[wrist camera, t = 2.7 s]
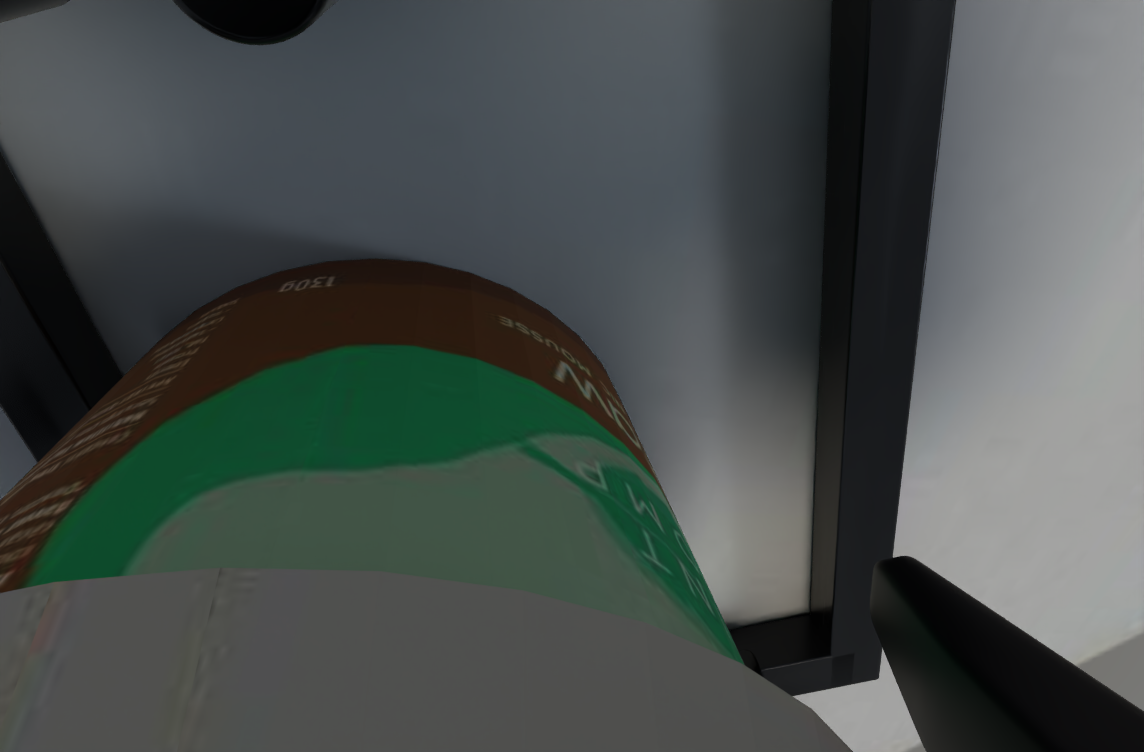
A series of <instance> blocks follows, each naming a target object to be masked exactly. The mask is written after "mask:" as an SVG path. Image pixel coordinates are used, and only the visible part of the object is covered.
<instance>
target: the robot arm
mask: <svg viewBox="0 0 1144 752" xmlns="http://www.w3.org/2000/svg"><path fill="white" fill-rule="evenodd" d="M870 614H871V619H872V622H873V625H874V628H875V631H876V633H877V635H878V638H879V640H880V643H881V645H882V648H883V650H884V652H885V655H886V657H887V660H888V662H889V665H890V667H891V669H892V672H893V674H894V677H895V679H896V682H897V684H898V686H899V689H900V691H901V694H902V696H903V699H904V701H905V703H906V706H907V708H908V711H909V713H910V716H911V718H912V720H913V723H914V725H915V728H916V730H917V732H918V734H919V737H920V739H921V741H922V744H923V746H924V748H925V750H926V751H927V752H1144V711H1142V710H1141V709H1139V708H1138V707H1136V706H1135V705H1133V704H1132V703H1130V702H1129V701H1127V700H1126V699H1124V698H1123V697H1121V696H1120V695H1118V694H1117V693H1115V692H1114V691H1112V690H1111V689H1109V688H1108V687H1107V686H1105V685H1103V684H1102V683H1101V682H1099V681H1097V680H1096V679H1095V678H1093V677H1092V676H1090V675H1088V674H1087V673H1086V672H1084V671H1083V670H1081V669H1080V668H1078V667H1077V666H1075V665H1074V664H1072V663H1071V662H1069V661H1068V660H1066V659H1065V658H1063V657H1062V656H1060V655H1059V654H1057V653H1056V652H1054V651H1053V650H1051V649H1050V648H1048V647H1047V646H1045V645H1044V644H1042V643H1041V642H1039V641H1038V640H1036V639H1035V638H1033V637H1032V636H1030V635H1029V634H1027V633H1026V632H1024V631H1023V630H1021V629H1020V628H1018V627H1017V626H1015V625H1014V624H1012V623H1011V622H1009V621H1008V620H1006V619H1005V618H1003V617H1002V616H1000V615H999V614H997V613H996V612H994V611H993V610H991V609H990V608H988V607H987V606H985V605H984V604H982V603H981V602H979V601H978V600H976V599H975V598H973V597H972V596H970V595H969V594H967V593H966V592H964V591H963V590H961V589H960V588H958V587H957V586H955V585H954V584H952V583H951V582H949V581H948V580H946V579H945V578H943V577H942V576H940V575H939V574H937V573H936V572H934V571H933V570H931V569H930V568H928V567H927V566H925V565H924V564H922V563H921V562H919V561H918V560H916V559H914V558H912V557H909V556H900V557H895V558H890V559H885V560H880V561H878V562H877V563H876V564H875V566H874V569H873V577H872V587H871V598H870Z"/></svg>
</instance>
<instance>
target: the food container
mask: <svg viewBox="0 0 1144 752" xmlns="http://www.w3.org/2000/svg"><path fill="white" fill-rule="evenodd" d="M0 752H853V751H852V750H851V749H850V748H849V747H848V746H847V745H846V744H845V743H844V742H843V741H842V740H841V739H840V738H839V737H838V736H837V735H836V734H835V733H834V732H833V731H832V729H831V728H830V727H829V726H828V725H827V724H826V723H825V722H824V721H823V720H822V719H821V718H820V717H819V716H818V715H817V714H816V713H815V712H814V711H813V710H812V709H811V708H809V707H808V706H806V705H805V704H803V703H802V702H800V701H798V700H797V699H795V698H794V697H792V696H791V695H789V694H788V693H786V692H785V691H783V690H782V689H780V688H779V687H777V686H775V685H774V684H772V683H771V682H769V681H768V680H766V679H765V678H763V677H762V676H760V675H759V674H757V673H756V672H754V671H753V670H751V669H749V668H748V667H746V666H745V665H744V663H743V661H742V658H741V656H740V654H739V652H738V650H737V648H736V646H735V643H734V641H733V639H732V637H731V635H730V633H729V631H728V628H727V626H726V624H725V622H724V620H723V618H722V616H721V614H720V611H719V609H718V607H717V605H716V603H715V601H714V599H713V596H712V594H711V592H710V590H709V588H708V586H707V584H706V581H705V579H704V577H703V575H702V573H701V571H700V569H699V566H698V564H697V562H696V560H695V558H694V556H693V554H692V551H691V549H690V547H689V545H688V543H687V541H686V539H685V536H684V534H683V532H682V530H681V528H680V526H679V524H678V521H677V519H676V517H675V515H674V513H673V511H672V509H671V506H670V504H669V502H668V500H667V498H666V496H665V494H664V492H663V489H662V487H661V485H660V483H659V481H658V479H657V477H656V474H655V472H654V470H653V468H652V466H651V464H650V462H649V459H648V457H647V455H646V453H645V451H644V449H643V447H642V444H641V442H640V440H639V438H638V436H637V434H636V432H635V429H634V427H633V425H632V423H631V421H630V419H629V417H628V414H627V412H626V410H625V408H624V406H623V404H622V402H621V400H620V398H619V396H618V394H617V392H616V390H615V388H614V386H613V384H612V383H611V381H610V379H609V377H608V375H607V373H606V371H605V369H604V367H603V365H602V363H601V362H600V361H599V360H598V358H597V357H596V356H595V355H594V354H593V352H592V351H591V350H590V349H589V348H588V346H587V345H586V344H585V343H584V342H583V341H582V339H581V338H580V337H579V336H578V335H577V334H576V333H575V332H573V331H572V330H571V329H570V328H569V327H567V326H566V325H565V324H564V323H563V322H561V321H560V320H559V319H558V318H557V317H555V316H554V315H553V314H552V313H551V312H550V311H548V310H547V309H545V308H543V307H541V306H540V305H538V304H536V303H535V302H533V301H531V300H530V299H528V298H526V297H524V296H523V295H521V294H519V293H518V292H516V291H514V290H512V289H510V288H508V287H505V286H502V285H500V284H497V283H495V282H492V281H490V280H487V279H485V278H482V277H479V276H477V275H474V274H472V273H469V272H464V271H460V270H456V269H451V268H447V267H442V266H438V265H434V264H429V263H425V262H413V261H401V260H389V259H360V260H344V261H328V262H323V263H318V264H313V265H308V266H303V267H299V268H294V269H289V270H284V271H280V272H277V273H274V274H272V275H269V276H266V277H263V278H261V279H258V280H255V281H253V282H250V283H247V284H245V285H242V286H239V287H237V288H234V289H233V290H231V291H229V292H227V293H225V294H224V295H222V296H220V297H218V298H217V299H215V300H213V301H211V302H210V303H208V304H206V305H204V306H202V307H201V308H199V309H197V310H196V311H194V312H193V313H192V314H191V315H189V316H188V317H187V318H186V319H185V320H183V321H182V322H181V323H180V324H179V325H177V326H176V327H175V328H174V329H173V330H171V331H170V332H169V333H168V334H166V335H165V336H164V337H163V338H162V339H160V340H159V341H158V342H157V343H156V344H155V345H154V346H153V347H152V348H151V349H150V350H149V351H148V352H147V353H146V354H145V355H144V356H143V357H142V358H141V359H140V360H139V361H138V362H137V363H136V364H135V365H134V366H133V367H132V368H131V369H130V370H129V371H128V372H127V373H126V374H125V375H124V377H123V378H122V379H121V380H120V381H119V382H118V383H117V384H116V385H115V386H114V387H113V388H112V389H111V390H110V391H109V392H108V393H107V394H106V395H105V396H104V397H103V398H102V399H101V400H100V401H99V402H98V403H97V404H96V405H95V406H94V407H93V408H92V409H91V410H90V411H89V412H88V413H87V414H86V415H85V416H84V417H83V418H82V419H81V420H80V421H79V422H78V423H77V424H76V425H75V426H74V427H73V428H72V429H71V430H70V431H69V432H68V433H67V434H66V435H65V436H64V437H63V438H62V439H61V440H60V441H59V442H58V443H57V444H56V445H55V446H54V447H53V448H52V449H51V450H50V451H49V452H48V453H47V454H46V455H45V456H44V457H43V458H42V459H41V460H40V461H39V462H38V463H37V464H36V465H35V466H34V467H33V468H32V469H31V470H30V471H29V472H28V473H27V474H26V475H25V476H24V477H23V478H22V479H21V480H20V481H19V482H18V483H17V484H16V485H15V486H14V487H13V488H12V489H11V490H10V491H9V492H8V493H7V494H6V495H5V496H4V497H3V498H2V499H1V500H0Z"/></svg>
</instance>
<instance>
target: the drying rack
mask: <svg viewBox="0 0 1144 752" xmlns="http://www.w3.org/2000/svg"><path fill="white" fill-rule="evenodd" d="M69 1H70V0H0V23H2V22H6V21H9V20H13V19H16V18H20V17H23V16H27V15H30V14H34V13H37V12H41V11H44V10H48V9H51V8H55V7H58V6H61V5H64V4H66V3H67V2H69ZM172 1H173V2H174V3H175V4H176V5H177V6H178V7H179V8H180V9H181V10H182V11H183V12H184V13H185V14H186V15H187V16H188V17H189V18H190V19H191V20H193V21H194V22H196V23H197V24H198V25H200V26H201V27H202V28H204V29H206V30H208V31H209V32H211V33H213V34H215V35H217V36H219V37H222V38H224V39H226V40H230V41H233V42H236V43H241V44H247V45H270V44H276V43H280V42H284V41H286V40H288V39H291V38H293V37H295V36H297V35H298V34H300V33H302V32H303V31H304V30H306V29H307V28H308V27H309V26H310V25H312V24H313V23H314V22H315V21H316V20H317V19H318V18H319V17H321V16H322V15H323V14H324V13H325V12H326V11H327V10H328V9H329V8H331V7H332V6H333V5H334V4H335V3H336V2H337V1H338V0H172ZM955 5H956V0H833V7H832V35H831V62H830V90H829V118H828V145H827V173H826V200H825V228H824V256H823V283H822V311H821V338H820V366H819V393H818V421H817V449H816V476H815V504H814V531H813V559H812V587H811V614H810V615H805V616H800V617H795V618H790V619H785V620H780V621H775V622H769V623H764V624H759V625H754V626H749V627H744V628H739V629H734V630H729V633H730V635H731V637H732V639H733V641H734V643H735V646H736V648H737V650H738V652H739V654H740V656H741V658H742V661H743V663H744V665H745V666H746V667H748V668H749V669H751V670H753V671H754V672H756V673H757V674H759V675H760V676H762V677H763V678H765V679H766V680H768V681H769V682H771V683H772V684H774V685H775V686H777V687H779V688H780V689H782V690H783V691H785V692H786V693H788V694H789V695H791V696H796V695H801V694H806V693H811V692H816V691H821V690H826V689H831V688H836V687H841V686H846V685H851V684H856V683H861V682H866V681H871V680H876V679H878V678H879V672H880V663H881V654H882V645H881V643H880V640H879V638H878V635H877V633H876V631H875V628H874V625H873V622H872V619H871V614H870V598H871V587H872V577H873V569H874V566H875V564H876V563H877V562H878V561H880V560H885V559H890V558H893V549H894V540H895V531H896V523H897V514H898V505H899V496H900V488H901V479H902V470H903V461H904V452H905V444H906V435H907V426H908V417H909V409H910V400H911V391H912V382H913V374H914V365H915V356H916V347H917V338H918V330H919V321H920V312H921V303H922V295H923V286H924V277H925V268H926V260H927V251H928V242H929V233H930V224H931V216H932V207H933V198H934V189H935V181H936V172H937V163H938V154H939V146H940V137H941V128H942V119H943V110H944V102H945V93H946V84H947V75H948V67H949V58H950V49H951V40H952V32H953V23H954V14H955ZM121 379H122V376H121V374H120V372H119V370H118V369H117V367H116V365H115V363H114V361H113V359H112V357H111V356H110V354H109V352H108V350H107V348H106V346H105V345H104V343H103V341H102V339H101V337H100V335H99V333H98V332H97V330H96V328H95V326H94V324H93V322H92V320H91V319H90V317H89V315H88V313H87V311H86V309H85V308H84V306H83V304H82V302H81V300H80V298H79V296H78V295H77V293H76V291H75V289H74V287H73V285H72V283H71V282H70V280H69V278H68V276H67V274H66V272H65V271H64V269H63V267H62V265H61V263H60V261H59V259H58V258H57V256H56V254H55V252H54V250H53V248H52V246H51V245H50V243H49V241H48V239H47V237H46V235H45V234H44V232H43V230H42V228H41V226H40V224H39V222H38V221H37V219H36V217H35V215H34V213H33V211H32V209H31V208H30V206H29V204H28V202H27V200H26V198H25V197H24V195H23V193H22V191H21V189H20V187H19V185H18V184H17V182H16V180H15V178H14V176H13V174H12V172H11V171H10V169H9V167H8V165H7V163H6V161H5V160H4V158H3V156H2V154H1V152H0V406H1V408H2V409H3V411H4V412H5V414H6V415H7V417H8V418H9V420H10V422H11V423H12V425H13V426H14V428H15V429H16V431H17V432H18V434H19V435H20V437H21V438H22V440H23V441H24V443H25V444H26V446H27V447H28V449H29V450H30V452H31V453H32V455H33V457H34V458H35V460H36V461H37V463H38V462H39V461H40V460H41V459H42V458H43V457H44V456H45V455H46V454H47V453H48V452H49V451H50V450H51V449H52V448H53V447H54V446H55V445H56V444H57V443H58V442H59V441H60V440H61V439H62V438H63V437H64V436H65V435H66V434H67V433H68V432H69V431H70V430H71V429H72V428H73V427H74V426H75V425H76V424H77V423H78V422H79V421H80V420H81V419H82V418H83V417H84V416H85V415H86V414H87V413H88V412H89V411H90V410H91V409H92V408H93V407H94V406H95V405H96V404H97V403H98V402H99V401H100V400H101V399H102V398H103V397H104V396H105V395H106V394H107V393H108V392H109V391H110V390H111V389H112V388H113V387H114V386H115V385H116V384H117V383H118V382H119V381H120V380H121Z"/></svg>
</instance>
